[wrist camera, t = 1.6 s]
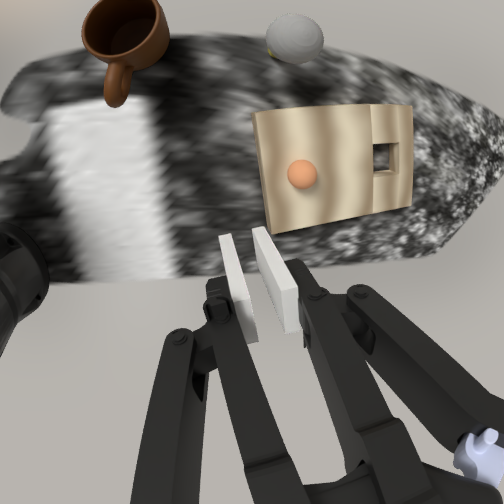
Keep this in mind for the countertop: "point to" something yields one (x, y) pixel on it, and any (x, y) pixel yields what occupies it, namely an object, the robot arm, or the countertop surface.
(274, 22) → the light bulb
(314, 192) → the wooden board with hole
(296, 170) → the ball
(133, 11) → the mug
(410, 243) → the countertop surface
